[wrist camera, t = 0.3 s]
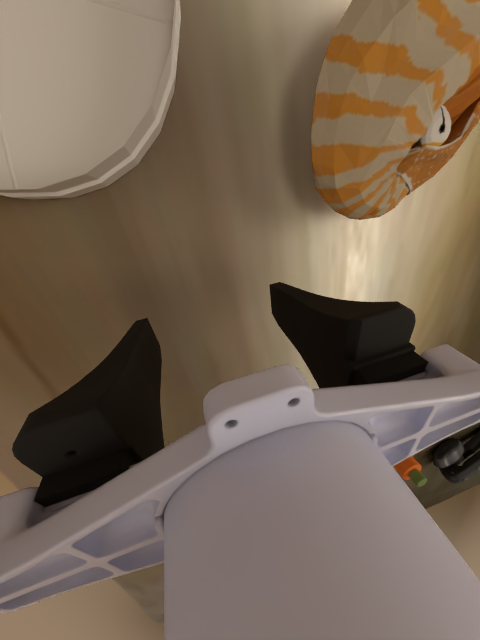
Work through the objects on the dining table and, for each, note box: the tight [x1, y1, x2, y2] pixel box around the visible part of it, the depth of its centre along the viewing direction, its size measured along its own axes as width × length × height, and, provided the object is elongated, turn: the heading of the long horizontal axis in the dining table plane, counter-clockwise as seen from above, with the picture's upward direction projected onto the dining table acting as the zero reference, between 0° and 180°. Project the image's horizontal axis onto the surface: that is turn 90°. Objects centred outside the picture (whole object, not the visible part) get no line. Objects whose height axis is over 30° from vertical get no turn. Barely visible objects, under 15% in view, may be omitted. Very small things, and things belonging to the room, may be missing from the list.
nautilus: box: [311, 0, 480, 220], centre depth 19 cm, size 8×22×15 cm
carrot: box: [393, 456, 427, 487], centre depth 36 cm, size 3×3×9 cm
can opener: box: [433, 430, 480, 483], centre depth 47 cm, size 18×7×6 cm, turn 115°
